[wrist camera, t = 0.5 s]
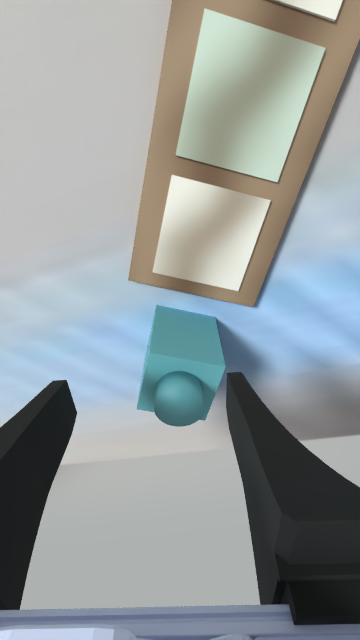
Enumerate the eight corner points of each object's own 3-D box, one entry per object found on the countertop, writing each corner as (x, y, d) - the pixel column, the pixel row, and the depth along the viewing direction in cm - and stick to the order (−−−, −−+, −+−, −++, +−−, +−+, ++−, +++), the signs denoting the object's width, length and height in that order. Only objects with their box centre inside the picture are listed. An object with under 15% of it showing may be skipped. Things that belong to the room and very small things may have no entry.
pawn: (215, 317, 22) (230, 386, 16) (199, 363, 24) (206, 441, 18) (156, 304, 22) (146, 370, 15) (146, 353, 24) (133, 429, 17)
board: (450, -206, 11) (468, -230, 10) (251, 303, 22) (253, 308, 21) (223, -311, 10) (226, -345, 9) (129, 276, 21) (127, 281, 20)
